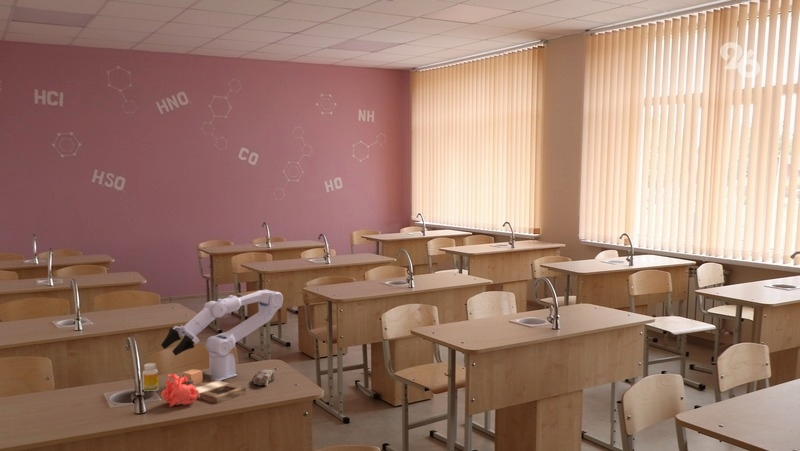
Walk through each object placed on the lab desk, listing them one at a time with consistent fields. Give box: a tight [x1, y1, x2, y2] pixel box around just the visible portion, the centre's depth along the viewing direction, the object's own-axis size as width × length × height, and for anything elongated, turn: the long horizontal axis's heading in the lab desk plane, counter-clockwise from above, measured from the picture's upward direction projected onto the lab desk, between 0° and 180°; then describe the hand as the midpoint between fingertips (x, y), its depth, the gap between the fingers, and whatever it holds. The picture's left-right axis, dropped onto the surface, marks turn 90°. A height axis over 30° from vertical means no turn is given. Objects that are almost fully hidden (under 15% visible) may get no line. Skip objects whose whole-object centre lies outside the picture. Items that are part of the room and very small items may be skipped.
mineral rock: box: [252, 369, 275, 387], centre depth 258 cm, size 15×8×4 cm, turn 171°
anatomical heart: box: [161, 373, 198, 407], centre depth 233 cm, size 9×12×12 cm
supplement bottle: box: [142, 362, 160, 392], centre depth 249 cm, size 5×5×10 cm
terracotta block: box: [182, 368, 203, 384], centre depth 251 cm, size 5×5×4 cm
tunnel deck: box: [169, 371, 247, 404], centre depth 247 cm, size 13×28×4 cm, turn 54°
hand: (168, 350), depth 249 cm, fingers open, 7 cm apart
